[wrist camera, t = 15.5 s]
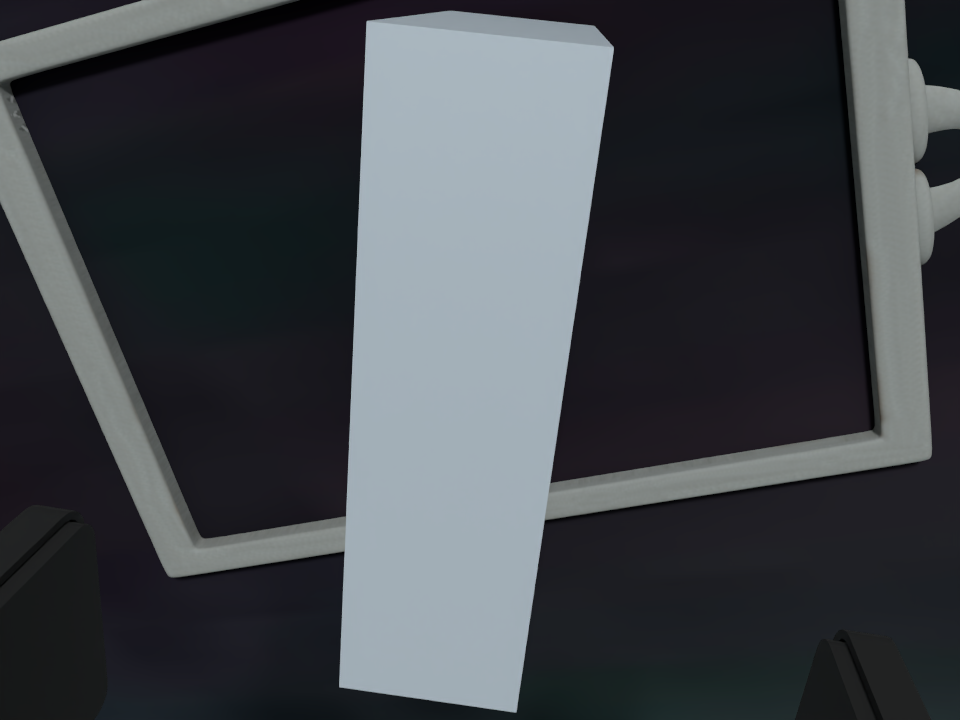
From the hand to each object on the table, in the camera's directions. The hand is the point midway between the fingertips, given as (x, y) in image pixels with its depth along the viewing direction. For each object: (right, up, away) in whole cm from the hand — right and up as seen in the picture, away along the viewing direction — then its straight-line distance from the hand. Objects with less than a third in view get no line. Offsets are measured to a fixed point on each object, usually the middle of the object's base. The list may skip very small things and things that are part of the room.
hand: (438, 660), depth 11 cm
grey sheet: (+1, +7, +16) cm, 17 cm away
